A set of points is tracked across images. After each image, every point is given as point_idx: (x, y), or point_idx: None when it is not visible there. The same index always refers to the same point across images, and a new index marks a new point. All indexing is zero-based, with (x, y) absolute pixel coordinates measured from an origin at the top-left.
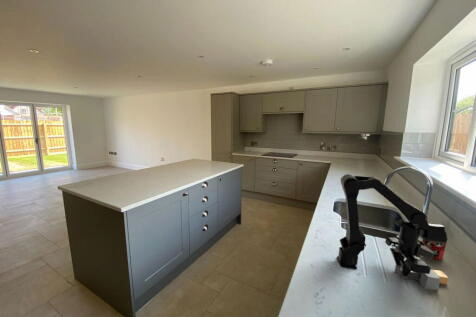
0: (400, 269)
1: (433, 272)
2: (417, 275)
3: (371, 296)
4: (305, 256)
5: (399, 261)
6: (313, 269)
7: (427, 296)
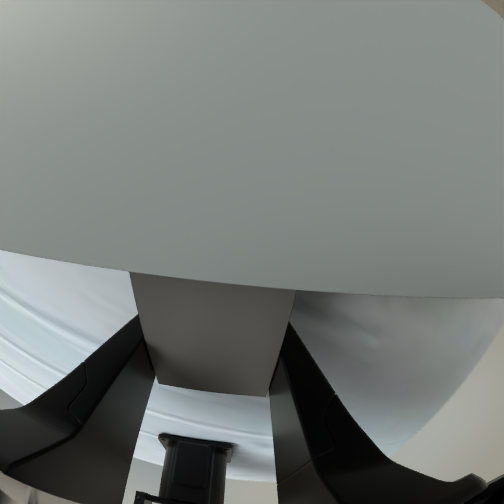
0: (247, 393)
1: (488, 23)
2: None
3: (377, 435)
4: None
5: (131, 398)
6: (257, 476)
7: None
